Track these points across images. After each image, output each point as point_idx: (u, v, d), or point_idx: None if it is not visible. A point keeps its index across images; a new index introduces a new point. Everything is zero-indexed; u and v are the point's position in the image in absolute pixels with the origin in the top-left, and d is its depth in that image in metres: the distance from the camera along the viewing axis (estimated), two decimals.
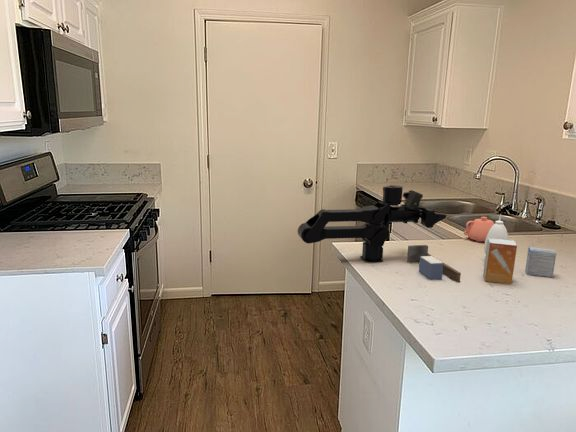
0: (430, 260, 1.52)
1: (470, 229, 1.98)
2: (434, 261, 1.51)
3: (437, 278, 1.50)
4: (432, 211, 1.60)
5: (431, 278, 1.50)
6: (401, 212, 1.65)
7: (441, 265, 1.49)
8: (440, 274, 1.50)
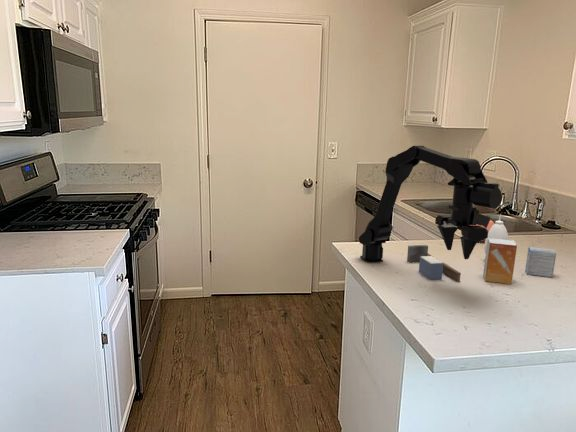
0: (430, 260, 1.52)
1: None
2: (434, 261, 1.51)
3: (437, 278, 1.50)
4: (487, 235, 1.28)
5: (431, 278, 1.50)
6: (461, 201, 1.32)
7: (441, 265, 1.49)
8: (440, 274, 1.50)
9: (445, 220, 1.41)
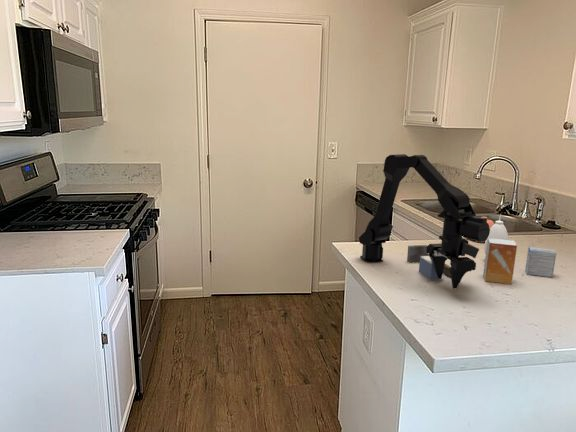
0: (430, 260, 1.52)
1: None
2: None
3: (437, 278, 1.50)
4: (475, 267, 1.34)
5: (431, 278, 1.50)
6: (450, 234, 1.38)
7: None
8: None
9: (436, 249, 1.46)
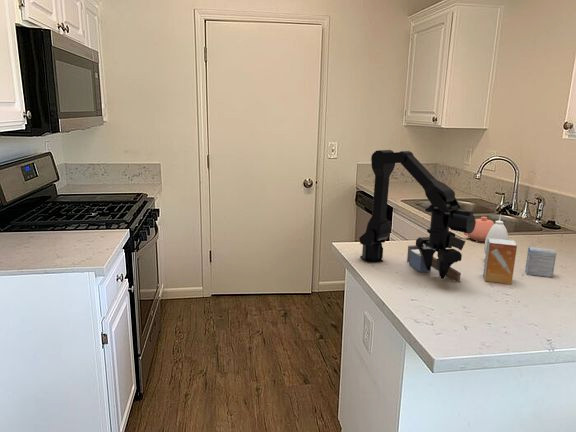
0: (419, 253, 1.59)
1: None
2: None
3: (426, 270, 1.57)
4: None
5: (420, 270, 1.57)
6: (439, 227, 1.45)
7: None
8: None
9: (424, 242, 1.54)
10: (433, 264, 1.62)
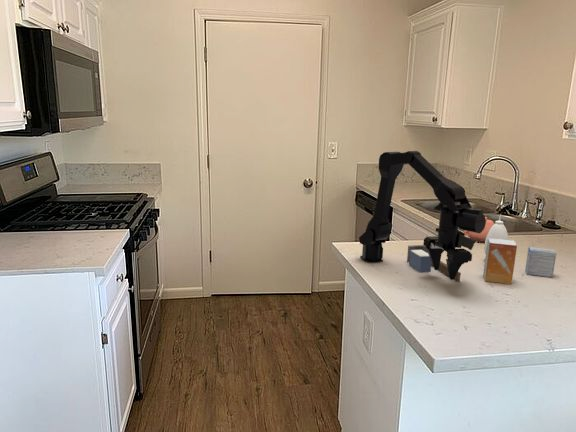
0: (419, 253, 1.59)
1: None
2: (423, 254, 1.58)
3: (426, 270, 1.57)
4: (471, 258, 1.36)
5: (420, 270, 1.57)
6: (447, 226, 1.40)
7: None
8: (429, 267, 1.57)
9: (432, 242, 1.49)
10: None
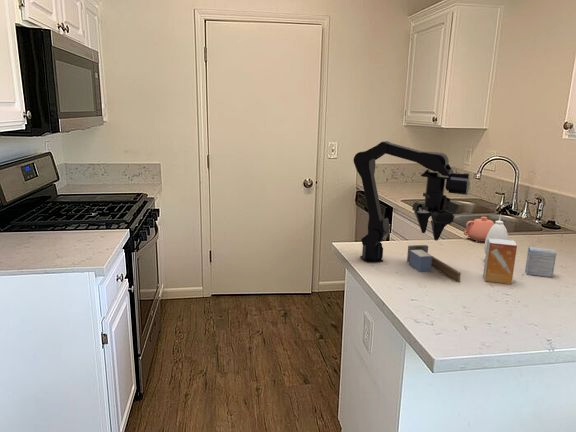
0: (419, 253, 1.59)
1: (470, 229, 1.98)
2: (423, 254, 1.58)
3: (426, 270, 1.57)
4: (453, 220, 1.48)
5: (420, 270, 1.57)
6: (437, 190, 1.51)
7: (430, 258, 1.57)
8: (429, 267, 1.57)
9: (420, 206, 1.61)
10: (433, 264, 1.62)
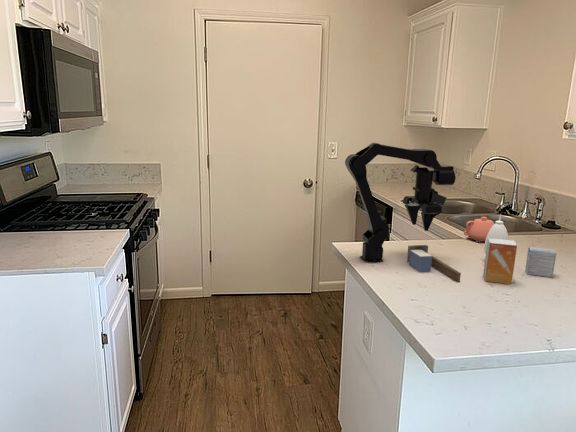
0: (419, 253, 1.59)
1: (470, 229, 1.98)
2: (423, 254, 1.58)
3: (426, 270, 1.57)
4: None
5: (420, 270, 1.57)
6: (429, 184, 1.63)
7: (430, 258, 1.57)
8: (429, 267, 1.57)
9: (410, 200, 1.71)
10: (433, 264, 1.62)
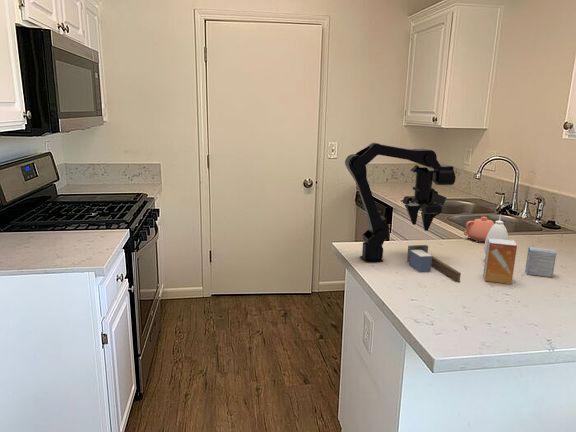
0: (419, 253, 1.59)
1: (470, 229, 1.98)
2: (423, 254, 1.58)
3: (426, 270, 1.57)
4: None
5: (420, 270, 1.57)
6: (429, 184, 1.63)
7: (430, 258, 1.57)
8: (429, 267, 1.57)
9: (410, 200, 1.71)
10: (433, 264, 1.62)
